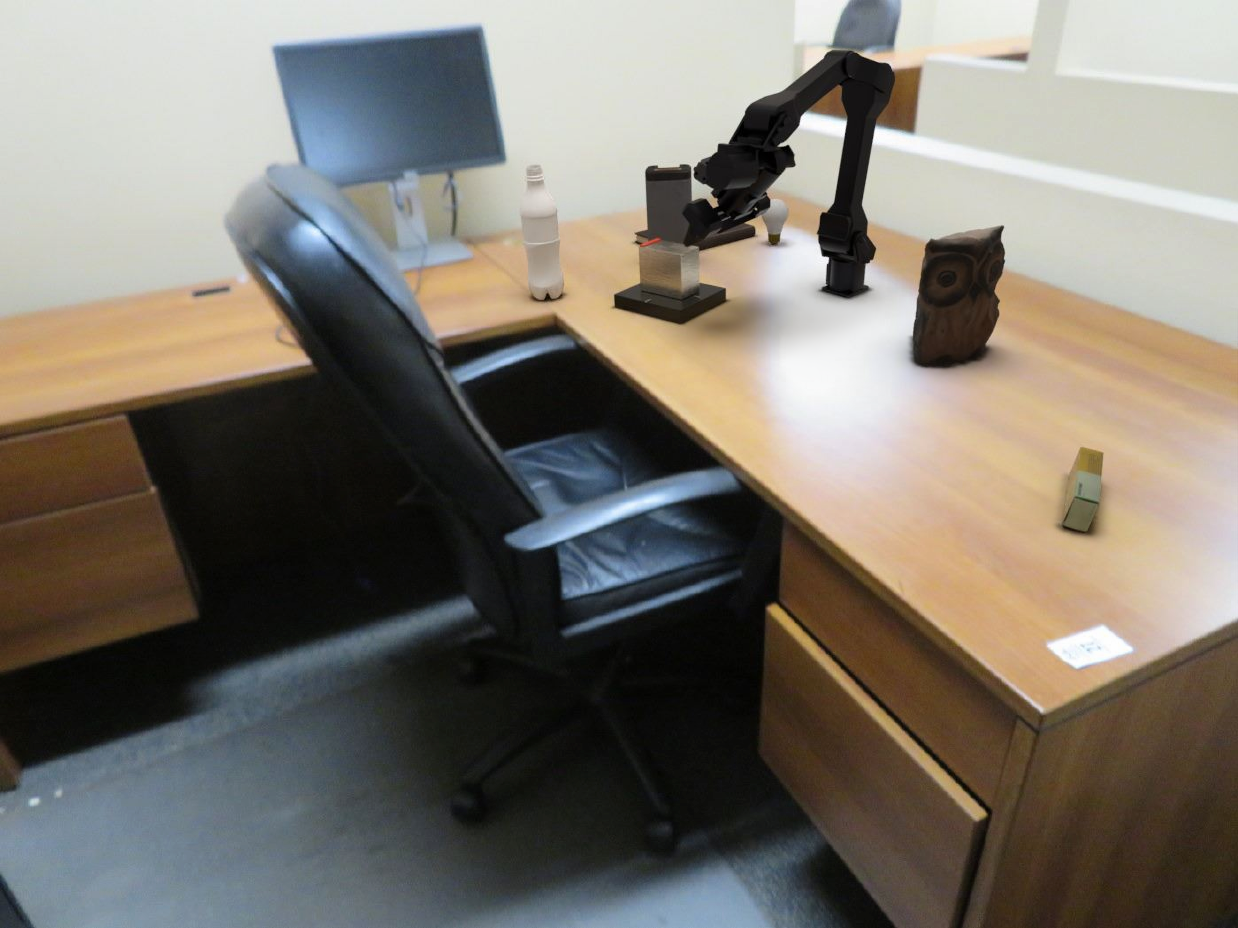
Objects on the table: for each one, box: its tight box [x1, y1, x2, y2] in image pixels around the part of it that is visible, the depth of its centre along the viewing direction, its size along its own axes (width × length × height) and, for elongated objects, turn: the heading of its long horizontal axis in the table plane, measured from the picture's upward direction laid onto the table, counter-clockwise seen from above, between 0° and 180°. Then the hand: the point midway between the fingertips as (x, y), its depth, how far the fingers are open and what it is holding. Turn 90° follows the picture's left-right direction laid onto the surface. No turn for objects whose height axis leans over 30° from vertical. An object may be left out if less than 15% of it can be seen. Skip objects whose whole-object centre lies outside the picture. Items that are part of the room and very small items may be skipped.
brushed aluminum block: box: [638, 238, 700, 300], centre depth 159 cm, size 10×5×9 cm, turn 48°
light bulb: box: [761, 198, 790, 246], centre depth 188 cm, size 6×6×10 cm
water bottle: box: [519, 164, 565, 301], centre depth 164 cm, size 7×7×25 cm
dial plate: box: [613, 282, 727, 325], centre depth 162 cm, size 16×14×3 cm
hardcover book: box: [634, 222, 757, 251], centre depth 198 cm, size 16×23×2 cm
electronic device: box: [644, 163, 693, 246], centre depth 179 cm, size 9×6×20 cm, turn 84°
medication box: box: [1061, 446, 1105, 533], centre depth 97 cm, size 12×3×4 cm, turn 153°
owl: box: [912, 224, 1006, 368], centre depth 130 cm, size 13×13×20 cm
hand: (701, 238), depth 152 cm, fingers open, 9 cm apart
